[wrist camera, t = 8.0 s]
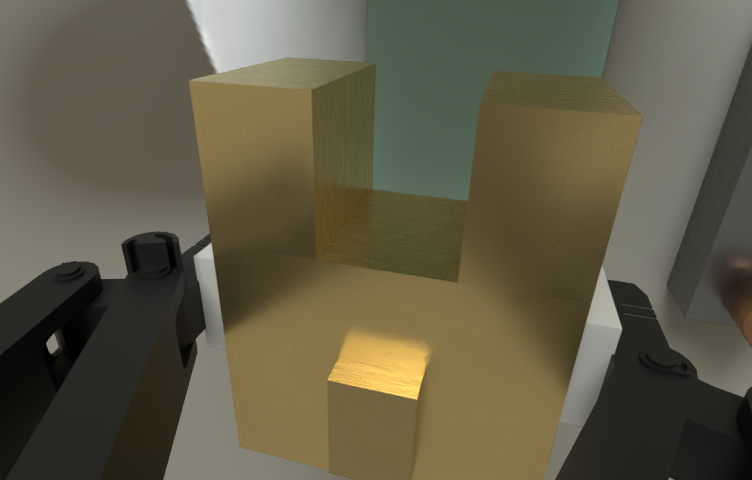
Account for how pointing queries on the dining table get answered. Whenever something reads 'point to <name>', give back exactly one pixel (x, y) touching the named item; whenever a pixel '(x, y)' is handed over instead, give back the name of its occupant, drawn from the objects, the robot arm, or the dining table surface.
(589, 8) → the mat
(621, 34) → the dining table surface
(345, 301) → the lever cap
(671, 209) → the dining table surface
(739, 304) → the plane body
